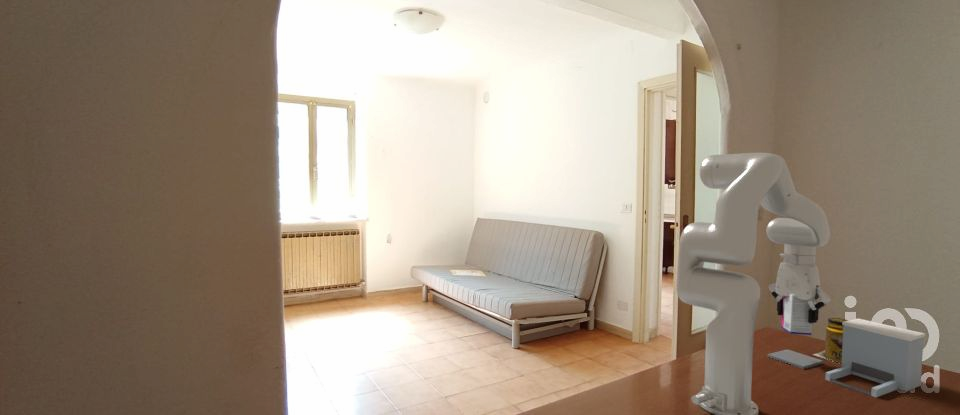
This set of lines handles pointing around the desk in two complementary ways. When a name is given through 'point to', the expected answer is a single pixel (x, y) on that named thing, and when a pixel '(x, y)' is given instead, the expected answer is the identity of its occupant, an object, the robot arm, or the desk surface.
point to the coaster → (795, 358)
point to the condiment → (833, 340)
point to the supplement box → (796, 316)
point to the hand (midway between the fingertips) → (796, 318)
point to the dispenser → (881, 355)
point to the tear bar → (850, 387)
